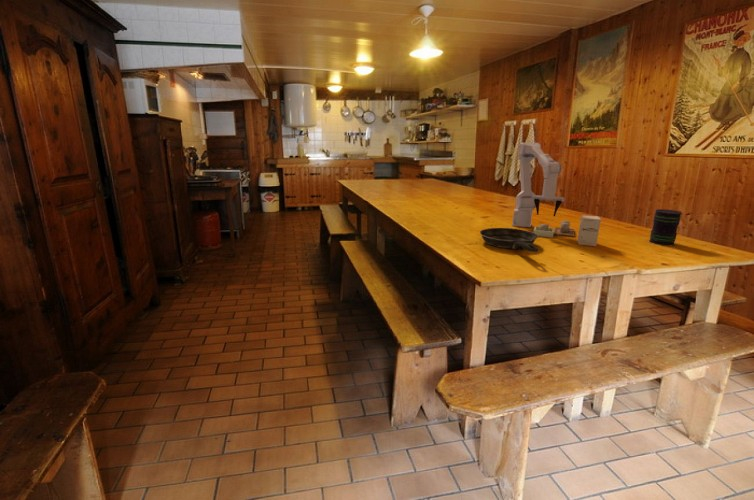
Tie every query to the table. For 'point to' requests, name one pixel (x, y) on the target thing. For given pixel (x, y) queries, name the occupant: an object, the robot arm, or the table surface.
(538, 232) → the bin
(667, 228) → the storage jar
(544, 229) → the stone front
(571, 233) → the shallow brown tray
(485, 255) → the table surface
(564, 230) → the stone mid
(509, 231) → the frying pan
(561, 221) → the stone back
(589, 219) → the supplement box
